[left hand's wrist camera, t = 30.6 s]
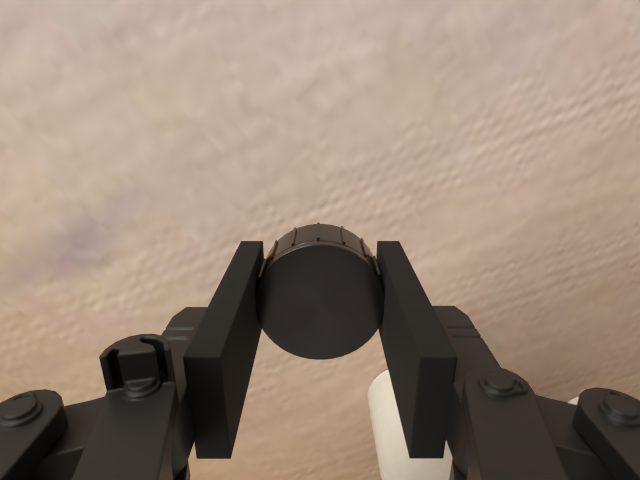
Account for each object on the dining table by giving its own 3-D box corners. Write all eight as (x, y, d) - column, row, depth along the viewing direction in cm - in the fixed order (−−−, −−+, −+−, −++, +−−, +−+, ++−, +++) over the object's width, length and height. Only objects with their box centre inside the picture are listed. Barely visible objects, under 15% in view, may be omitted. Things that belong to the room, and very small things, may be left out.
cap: (389, 232, 14) (400, 255, 12) (364, 334, 15) (370, 368, 14) (270, 213, 14) (262, 233, 12) (256, 318, 15) (247, 351, 13)
